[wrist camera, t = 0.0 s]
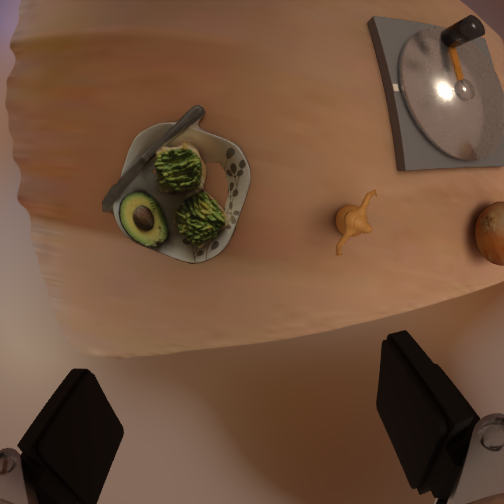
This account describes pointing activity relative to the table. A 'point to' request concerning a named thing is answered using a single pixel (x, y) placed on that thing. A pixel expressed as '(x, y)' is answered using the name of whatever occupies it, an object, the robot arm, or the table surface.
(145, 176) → the avocado toast plate
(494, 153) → the instrument base
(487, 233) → the onion
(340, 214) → the figurine
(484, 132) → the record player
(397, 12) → the table surface
